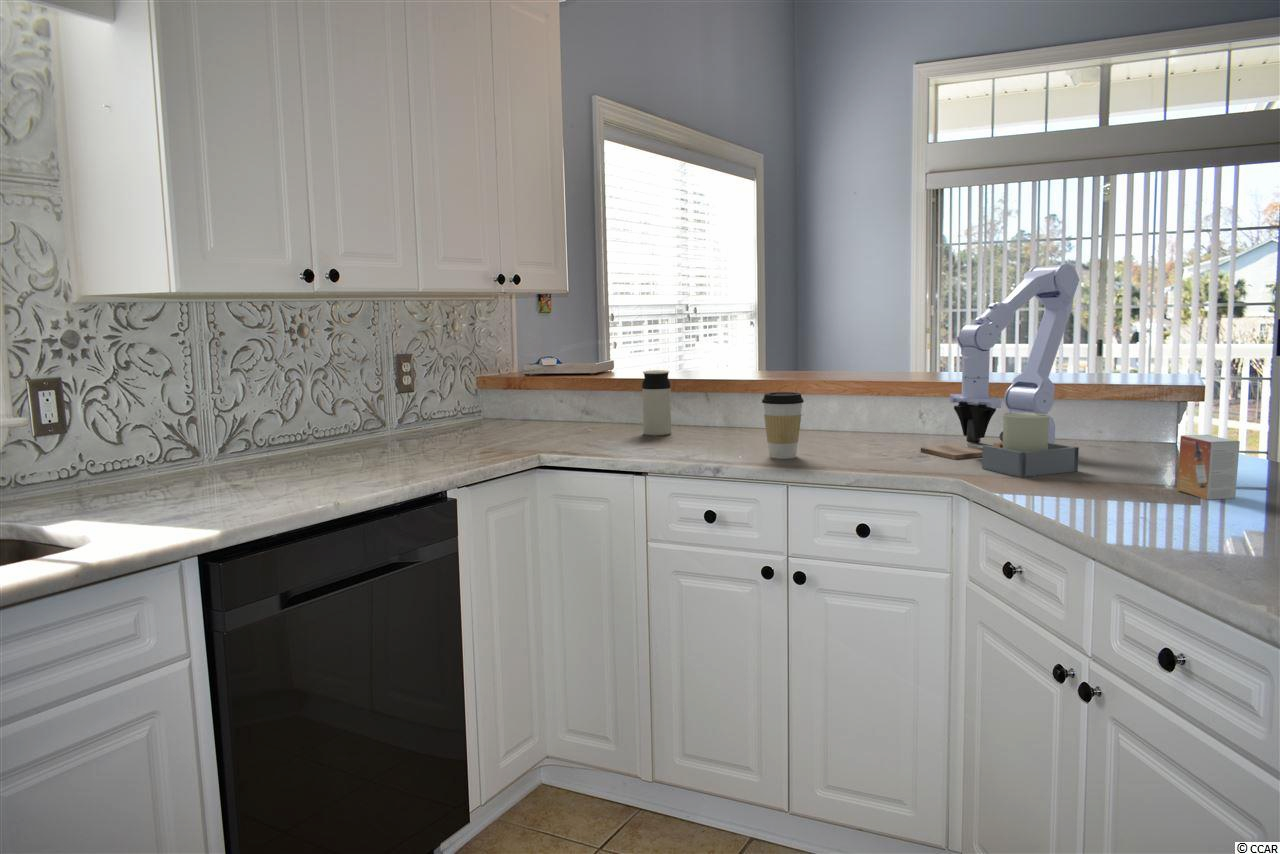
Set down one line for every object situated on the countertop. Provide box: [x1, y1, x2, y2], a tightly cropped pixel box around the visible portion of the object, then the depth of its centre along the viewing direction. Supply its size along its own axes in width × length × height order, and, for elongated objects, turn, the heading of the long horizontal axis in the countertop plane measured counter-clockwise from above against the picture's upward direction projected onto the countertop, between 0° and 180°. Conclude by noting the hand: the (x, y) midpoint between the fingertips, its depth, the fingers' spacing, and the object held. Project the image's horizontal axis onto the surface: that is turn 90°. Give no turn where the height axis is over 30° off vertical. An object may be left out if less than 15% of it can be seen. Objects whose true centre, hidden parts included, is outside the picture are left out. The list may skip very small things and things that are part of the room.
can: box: [1002, 412, 1051, 452], centre depth 190 cm, size 9×9×12 cm
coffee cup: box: [761, 391, 805, 460], centre depth 212 cm, size 10×10×15 cm
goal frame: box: [981, 442, 1080, 478], centre depth 189 cm, size 15×11×5 cm
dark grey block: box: [965, 418, 1003, 450], centre depth 200 cm, size 5×13×9 cm, turn 21°
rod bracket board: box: [920, 444, 982, 460], centre depth 211 cm, size 10×12×1 cm
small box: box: [1176, 434, 1240, 501], centre depth 161 cm, size 8×6×10 cm
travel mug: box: [641, 369, 672, 437], centre depth 254 cm, size 8×8×18 cm
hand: (973, 436), depth 204 cm, fingers open, 3 cm apart
